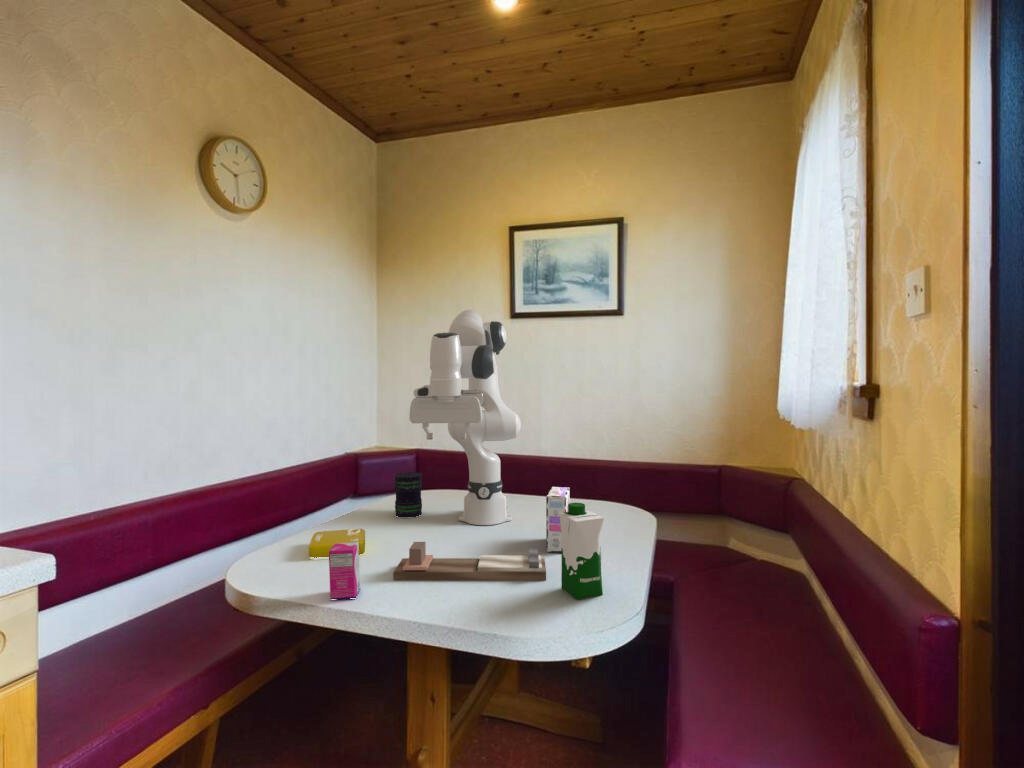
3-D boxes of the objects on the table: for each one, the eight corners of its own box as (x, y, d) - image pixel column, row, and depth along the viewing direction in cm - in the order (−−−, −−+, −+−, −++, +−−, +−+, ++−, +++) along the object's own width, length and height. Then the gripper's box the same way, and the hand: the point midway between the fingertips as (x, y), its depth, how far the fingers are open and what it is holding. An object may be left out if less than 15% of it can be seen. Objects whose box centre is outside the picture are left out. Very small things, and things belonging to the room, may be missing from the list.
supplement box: (335, 590, 123) (334, 542, 123) (360, 589, 124) (360, 541, 124) (328, 601, 118) (328, 550, 118) (355, 599, 118) (355, 549, 118)
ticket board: (402, 565, 140) (402, 548, 140) (544, 565, 139) (544, 548, 139) (393, 580, 130) (393, 561, 130) (546, 580, 129) (546, 561, 129)
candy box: (566, 553, 148) (566, 496, 148) (545, 552, 150) (545, 495, 149) (570, 539, 162) (570, 486, 162) (551, 538, 163) (551, 485, 163)
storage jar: (419, 518, 188) (418, 476, 188) (392, 518, 188) (391, 477, 188) (424, 511, 198) (424, 472, 198) (398, 511, 198) (398, 472, 198)
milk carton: (587, 582, 128) (587, 500, 127) (608, 596, 119) (608, 508, 119) (556, 588, 124) (555, 504, 124) (575, 602, 116) (574, 513, 116)
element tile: (314, 545, 159) (314, 530, 158) (365, 541, 162) (365, 526, 162) (308, 562, 144) (307, 545, 144) (364, 557, 148) (364, 540, 148)
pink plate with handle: (410, 557, 139) (410, 539, 139) (433, 557, 139) (432, 539, 139) (402, 570, 130) (402, 551, 130) (426, 570, 130) (426, 551, 130)
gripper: (483, 389, 149) (484, 437, 149) (412, 390, 149) (413, 438, 149) (482, 389, 143) (482, 440, 143) (407, 390, 143) (408, 440, 143)
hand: (446, 439), depth 146 cm, fingers open, 8 cm apart
